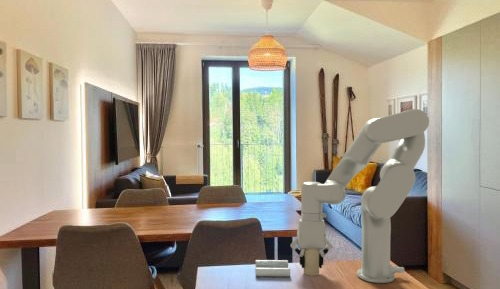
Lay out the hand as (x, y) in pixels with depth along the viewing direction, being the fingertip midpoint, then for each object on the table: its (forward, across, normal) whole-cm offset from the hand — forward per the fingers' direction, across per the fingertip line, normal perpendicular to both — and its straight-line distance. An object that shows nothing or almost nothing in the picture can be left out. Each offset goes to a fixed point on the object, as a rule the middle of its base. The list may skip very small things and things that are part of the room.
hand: (311, 266), depth 136 cm
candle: (+3, 0, 0) cm, 3 cm away
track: (+2, +14, 0) cm, 14 cm away
